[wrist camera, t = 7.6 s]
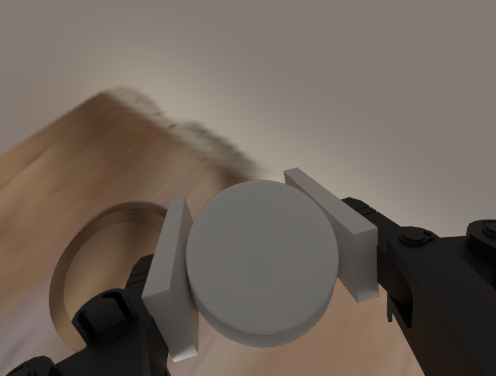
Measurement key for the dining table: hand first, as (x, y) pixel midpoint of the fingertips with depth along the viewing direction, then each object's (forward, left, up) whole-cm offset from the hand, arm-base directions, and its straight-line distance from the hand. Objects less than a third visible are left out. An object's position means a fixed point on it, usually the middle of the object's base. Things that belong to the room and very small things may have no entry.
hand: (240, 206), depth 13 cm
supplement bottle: (+1, -3, -4) cm, 5 cm away
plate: (-13, -3, -14) cm, 19 cm away
